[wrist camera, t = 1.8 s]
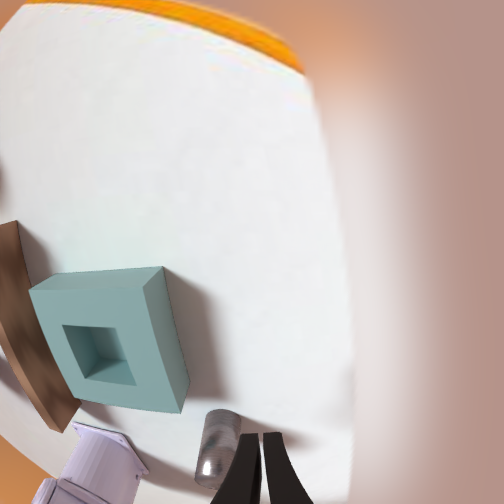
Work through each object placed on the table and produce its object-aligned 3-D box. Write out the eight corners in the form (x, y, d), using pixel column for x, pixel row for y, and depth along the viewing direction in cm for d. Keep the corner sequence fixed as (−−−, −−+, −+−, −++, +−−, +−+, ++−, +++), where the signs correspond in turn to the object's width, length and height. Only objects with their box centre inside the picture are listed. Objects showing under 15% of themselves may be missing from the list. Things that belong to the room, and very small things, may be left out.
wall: (81, 403, 22) (62, 433, 17) (68, 400, 22) (49, 428, 17) (16, 220, 17) (-24, 232, 12) (5, 223, 17) (-33, 235, 12)
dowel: (242, 429, 22) (239, 490, 15) (209, 429, 22) (199, 488, 15) (238, 409, 21) (234, 474, 14) (202, 409, 21) (189, 471, 14)
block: (190, 379, 20) (180, 413, 17) (93, 371, 21) (74, 397, 17) (164, 264, 18) (142, 287, 14) (58, 272, 18) (28, 290, 14)
